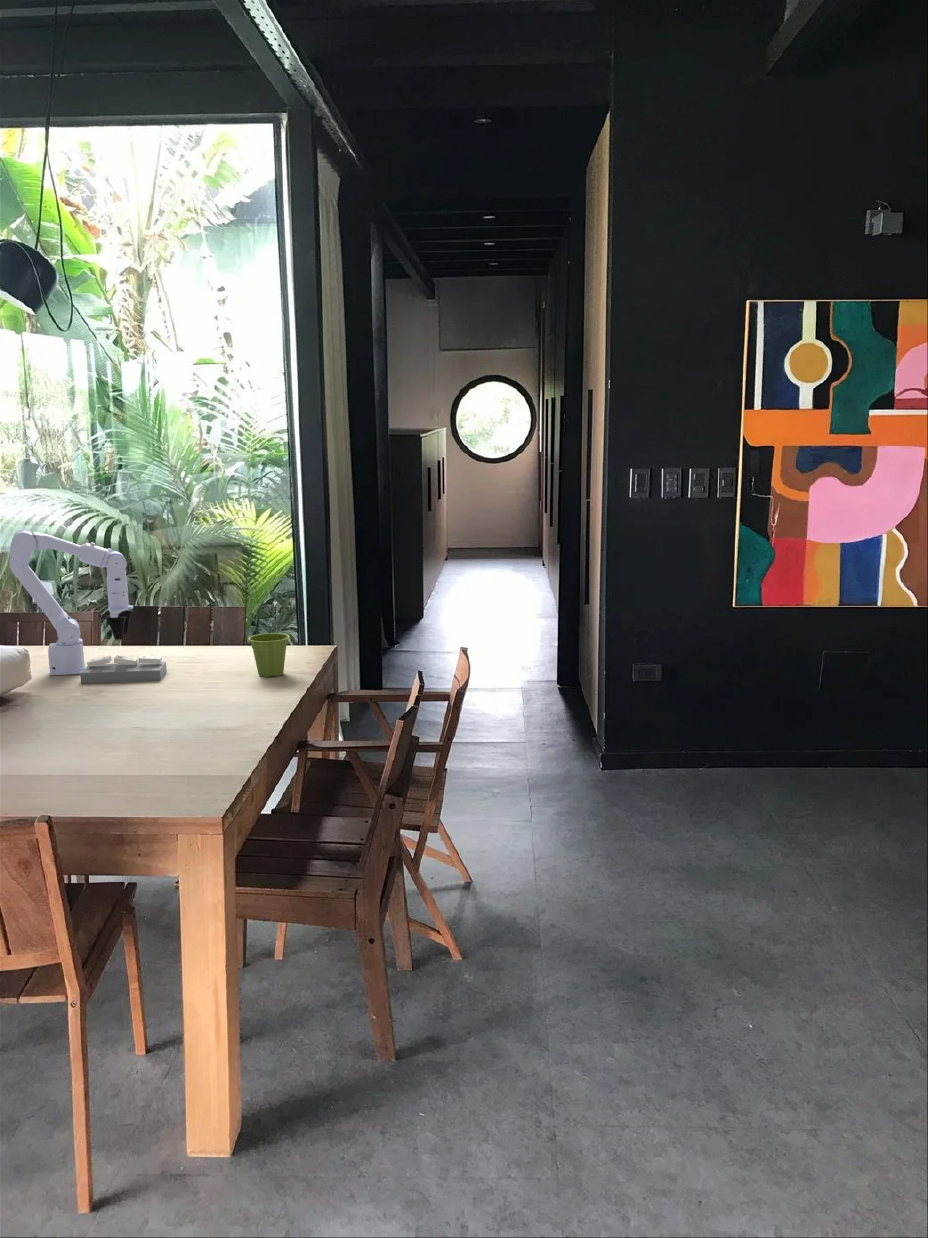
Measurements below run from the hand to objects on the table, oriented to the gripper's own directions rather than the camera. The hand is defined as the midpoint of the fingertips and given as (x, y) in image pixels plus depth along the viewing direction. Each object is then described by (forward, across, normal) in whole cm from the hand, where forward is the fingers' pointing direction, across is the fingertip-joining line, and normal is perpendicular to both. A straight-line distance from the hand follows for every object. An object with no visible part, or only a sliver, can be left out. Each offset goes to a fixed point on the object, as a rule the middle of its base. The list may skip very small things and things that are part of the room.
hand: (121, 636), depth 293 cm
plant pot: (+10, -16, -45) cm, 49 cm away
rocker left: (+6, -11, +4) cm, 13 cm away
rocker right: (+6, -11, -10) cm, 16 cm away
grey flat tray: (+9, -13, -3) cm, 16 cm away
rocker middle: (+6, -11, -3) cm, 13 cm away
